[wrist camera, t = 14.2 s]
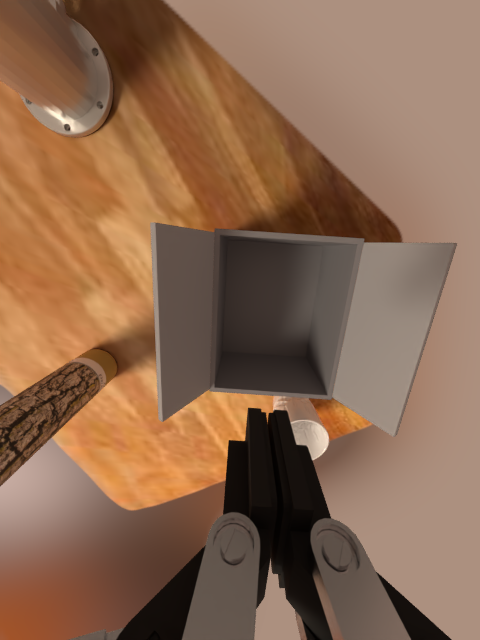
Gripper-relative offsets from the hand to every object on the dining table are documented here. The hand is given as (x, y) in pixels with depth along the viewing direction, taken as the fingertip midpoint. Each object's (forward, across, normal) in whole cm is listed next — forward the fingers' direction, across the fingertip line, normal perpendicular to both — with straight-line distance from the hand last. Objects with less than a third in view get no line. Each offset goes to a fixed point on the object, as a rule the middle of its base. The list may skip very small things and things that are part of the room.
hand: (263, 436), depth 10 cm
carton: (+30, -3, 0) cm, 30 cm away
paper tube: (+30, +27, +14) cm, 43 cm away
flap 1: (+15, +7, 0) cm, 16 cm away
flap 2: (+15, -13, 0) cm, 20 cm away
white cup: (+30, -10, +20) cm, 37 cm away
